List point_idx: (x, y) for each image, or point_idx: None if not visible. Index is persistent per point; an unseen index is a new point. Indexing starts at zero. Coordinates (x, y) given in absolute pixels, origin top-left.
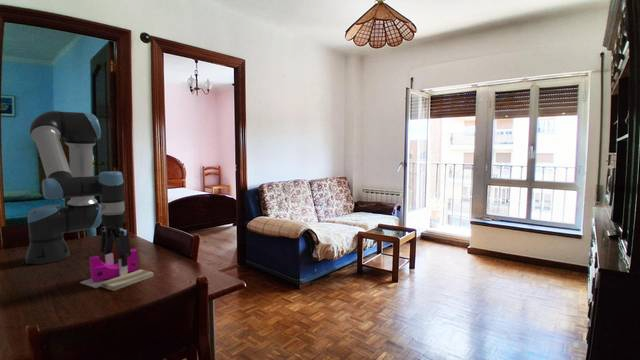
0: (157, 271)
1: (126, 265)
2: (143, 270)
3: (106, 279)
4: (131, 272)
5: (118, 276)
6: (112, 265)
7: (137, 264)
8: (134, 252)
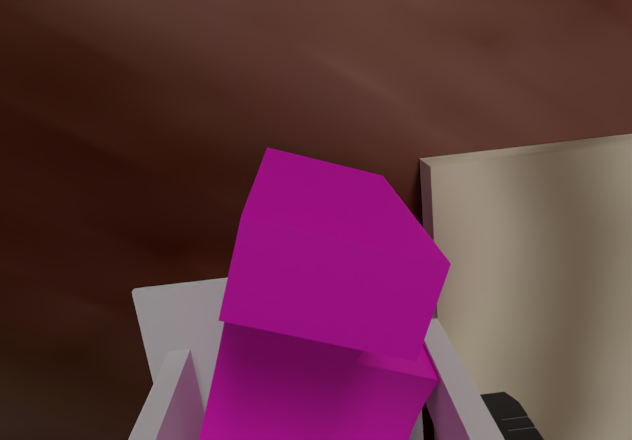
0: (544, 14)
1: (510, 405)
2: (504, 171)
3: None
4: None
5: None
6: (246, 433)
7: (395, 194)
8: (431, 299)
